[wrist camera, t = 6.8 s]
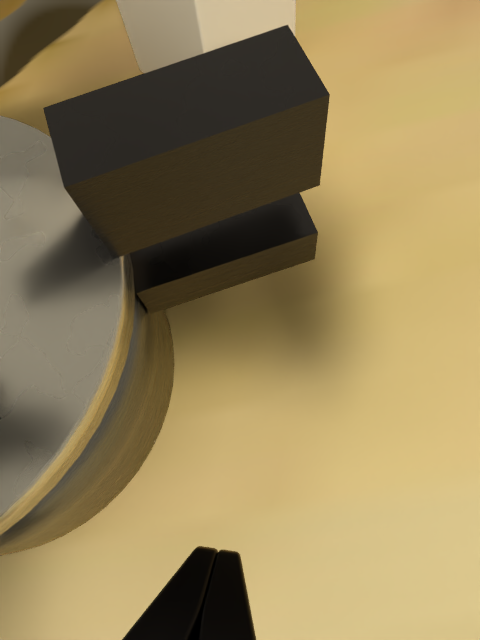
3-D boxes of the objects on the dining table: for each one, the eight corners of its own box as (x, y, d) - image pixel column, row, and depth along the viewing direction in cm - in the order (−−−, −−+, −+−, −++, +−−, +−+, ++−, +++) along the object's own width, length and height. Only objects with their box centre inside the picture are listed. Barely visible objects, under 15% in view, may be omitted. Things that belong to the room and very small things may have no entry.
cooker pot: (-204, 630, 20) (-445, 696, 13) (-190, 306, 26) (-352, 241, 19) (363, 432, 20) (400, 401, 14) (249, 162, 26) (238, 53, 20)
